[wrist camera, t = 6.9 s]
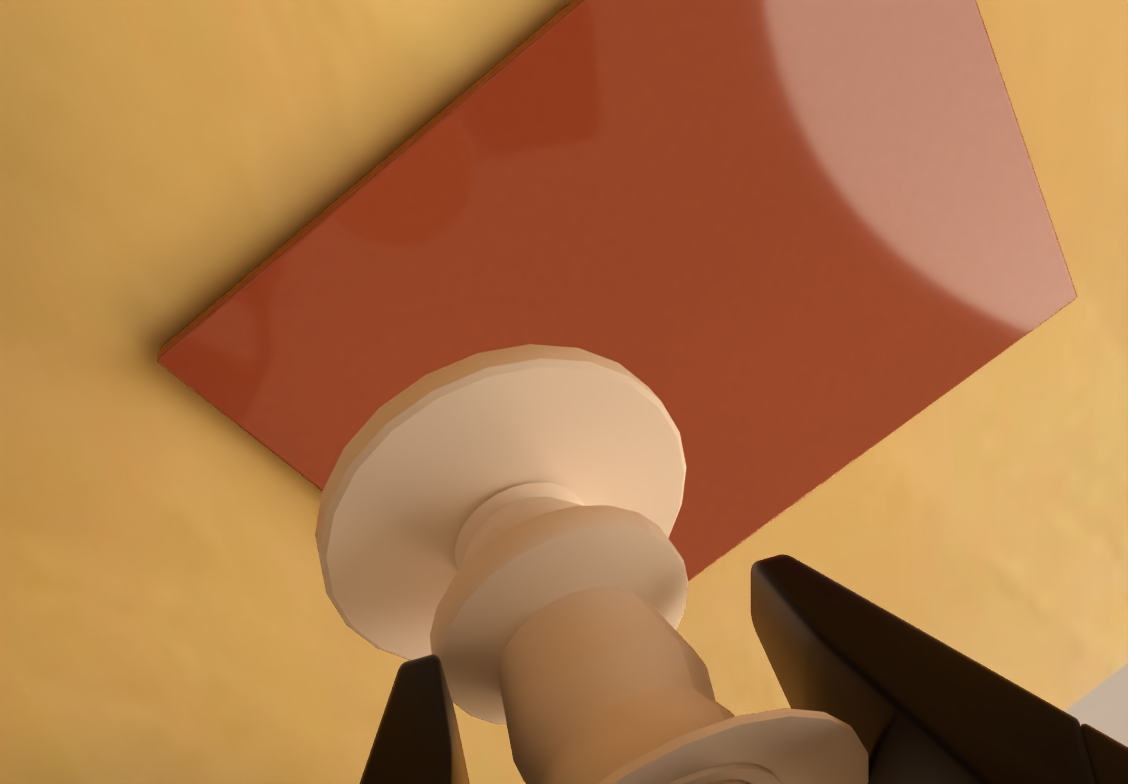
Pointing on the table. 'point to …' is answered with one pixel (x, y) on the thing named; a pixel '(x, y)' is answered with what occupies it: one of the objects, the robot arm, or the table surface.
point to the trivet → (673, 242)
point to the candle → (550, 574)
